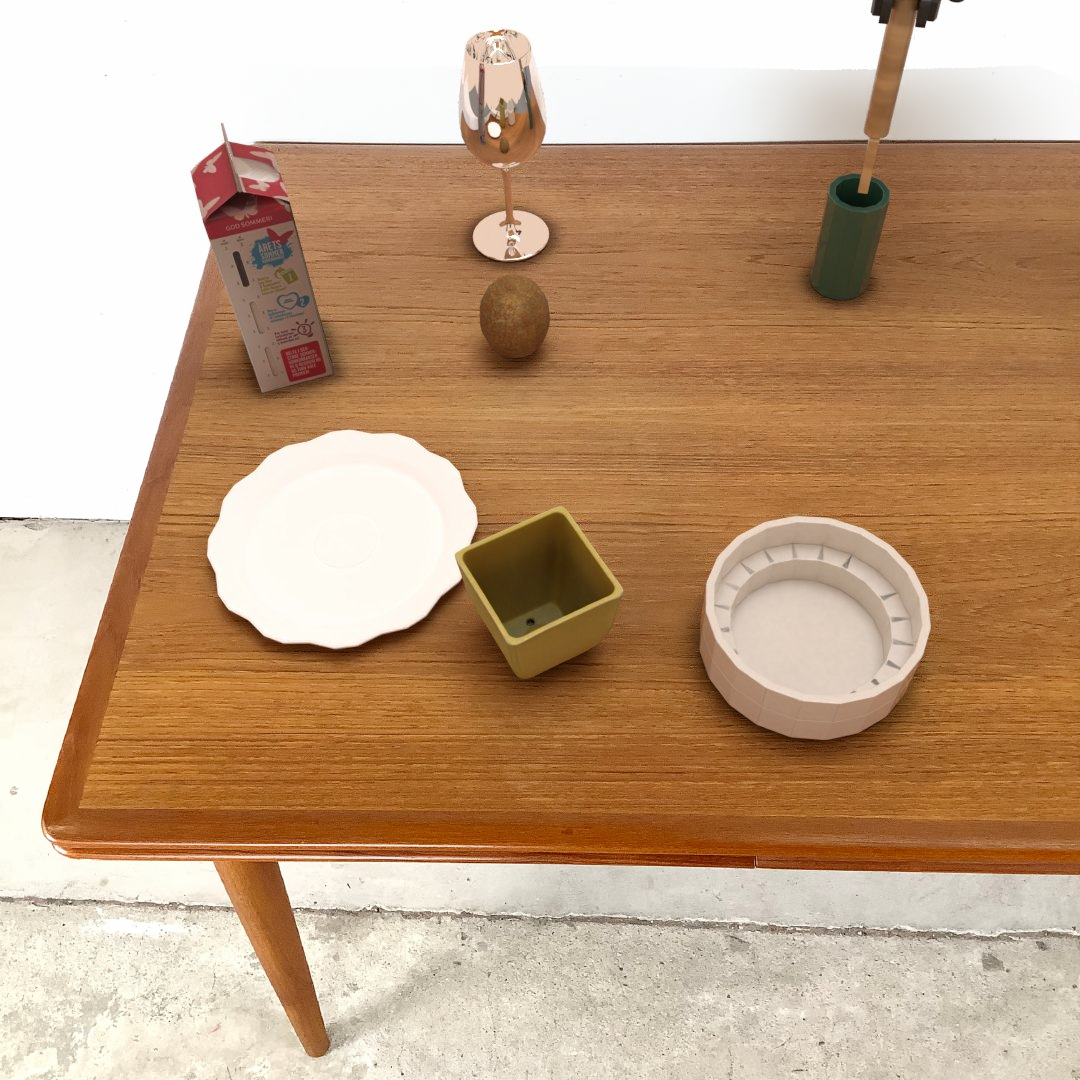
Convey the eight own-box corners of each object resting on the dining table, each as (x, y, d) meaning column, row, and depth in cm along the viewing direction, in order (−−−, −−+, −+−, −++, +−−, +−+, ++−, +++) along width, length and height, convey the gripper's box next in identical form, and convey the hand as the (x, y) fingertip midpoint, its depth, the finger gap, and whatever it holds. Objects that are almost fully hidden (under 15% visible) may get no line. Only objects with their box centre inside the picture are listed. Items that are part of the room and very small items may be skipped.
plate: (179, 641, 85) (172, 630, 83) (257, 433, 97) (253, 420, 95) (450, 671, 82) (448, 659, 81) (496, 454, 94) (495, 441, 93)
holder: (830, 255, 107) (850, 165, 99) (877, 278, 105) (901, 189, 97) (799, 283, 105) (816, 194, 97) (846, 308, 103) (868, 219, 95)
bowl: (777, 530, 89) (788, 482, 84) (949, 639, 82) (972, 594, 77) (657, 657, 82) (661, 613, 77) (833, 785, 76) (849, 747, 71)
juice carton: (319, 324, 104) (263, 113, 86) (334, 373, 100) (279, 163, 83) (248, 342, 103) (177, 132, 85) (261, 392, 99) (189, 184, 82)
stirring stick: (853, 173, 95) (918, -129, 76) (877, 176, 95) (949, -127, 76) (850, 191, 94) (915, -111, 74) (874, 195, 94) (947, -109, 74)
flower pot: (565, 572, 87) (563, 501, 80) (623, 658, 82) (626, 591, 75) (463, 620, 85) (451, 552, 77) (517, 711, 80) (509, 647, 73)
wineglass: (543, 267, 108) (535, 75, 91) (463, 259, 109) (441, 68, 92) (556, 215, 112) (551, 23, 96) (480, 208, 113) (462, 18, 97)
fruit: (541, 319, 104) (538, 250, 97) (559, 366, 100) (557, 298, 93) (475, 333, 103) (467, 265, 96) (491, 381, 99) (484, 313, 93)
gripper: (842, -160, 87) (814, -49, 78) (1028, -146, 85) (1022, -31, 75) (826, -61, 93) (798, 52, 84) (999, -46, 91) (991, 73, 81)
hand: (904, 13), depth 79 cm, fingers closed on stirring stick, 2 cm apart
